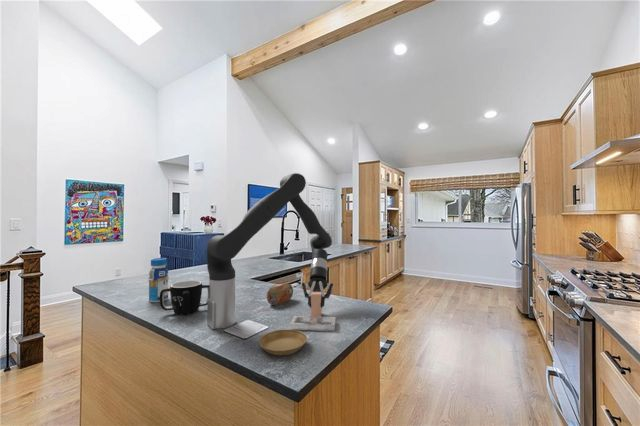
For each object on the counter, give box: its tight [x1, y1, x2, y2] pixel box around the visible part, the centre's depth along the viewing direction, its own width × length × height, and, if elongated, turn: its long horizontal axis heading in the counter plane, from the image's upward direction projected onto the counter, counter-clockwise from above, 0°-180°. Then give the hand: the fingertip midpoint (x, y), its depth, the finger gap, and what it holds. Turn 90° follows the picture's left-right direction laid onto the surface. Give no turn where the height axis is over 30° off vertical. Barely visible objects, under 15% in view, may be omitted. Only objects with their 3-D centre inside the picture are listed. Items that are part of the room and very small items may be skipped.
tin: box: [266, 282, 294, 307], centre depth 127 cm, size 15×3×8 cm, turn 143°
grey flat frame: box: [289, 315, 336, 332], centre depth 100 cm, size 16×8×2 cm, turn 85°
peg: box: [310, 292, 323, 317], centre depth 111 cm, size 4×4×9 cm
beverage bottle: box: [148, 257, 170, 303], centre depth 132 cm, size 8×8×20 cm
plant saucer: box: [258, 328, 308, 356], centre depth 84 cm, size 15×15×3 cm
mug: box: [159, 280, 209, 316], centre depth 115 cm, size 16×16×12 cm
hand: (316, 306), depth 109 cm, fingers closed on peg, 4 cm apart
